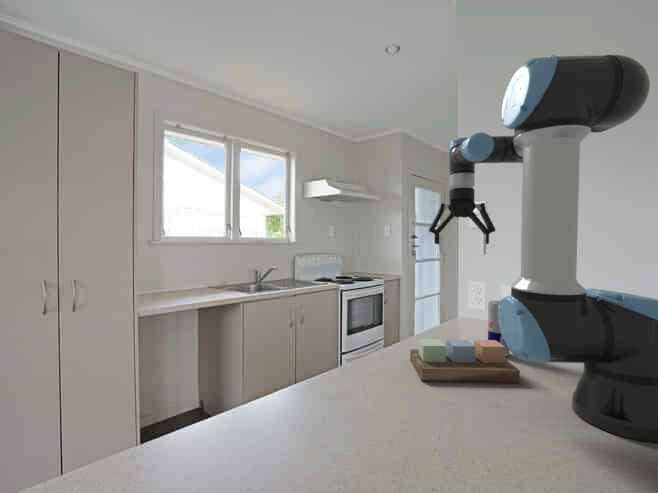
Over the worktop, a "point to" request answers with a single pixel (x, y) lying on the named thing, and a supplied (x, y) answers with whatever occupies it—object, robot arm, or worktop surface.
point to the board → (464, 371)
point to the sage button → (432, 350)
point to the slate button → (460, 351)
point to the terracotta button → (489, 351)
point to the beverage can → (495, 325)
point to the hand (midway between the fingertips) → (461, 254)
